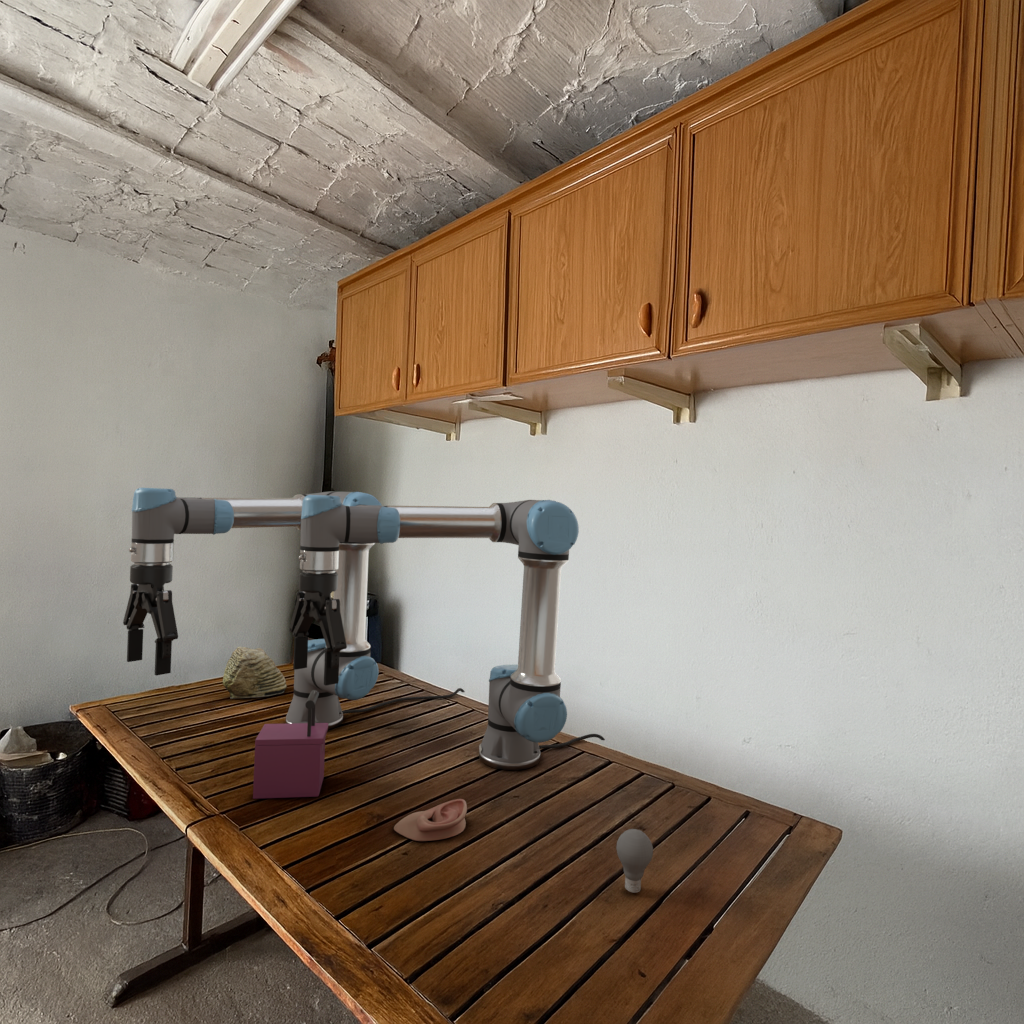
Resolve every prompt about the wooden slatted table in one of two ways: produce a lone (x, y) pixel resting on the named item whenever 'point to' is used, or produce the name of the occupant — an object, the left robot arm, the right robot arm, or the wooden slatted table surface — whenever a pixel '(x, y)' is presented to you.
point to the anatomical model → (434, 822)
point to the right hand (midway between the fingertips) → (315, 676)
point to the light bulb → (634, 857)
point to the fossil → (252, 674)
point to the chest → (288, 770)
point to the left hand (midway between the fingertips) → (148, 667)
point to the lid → (295, 729)
